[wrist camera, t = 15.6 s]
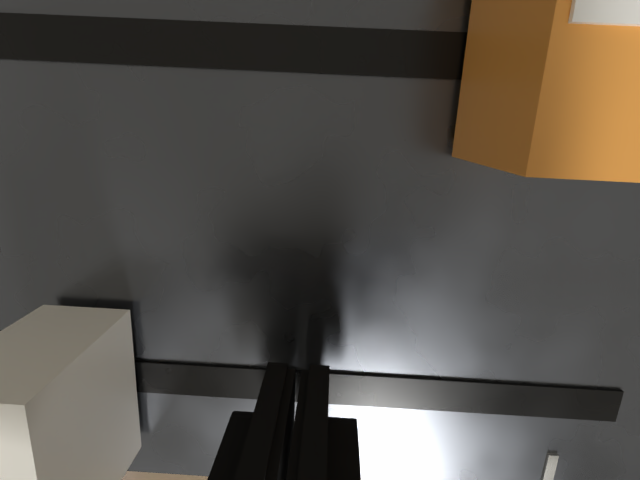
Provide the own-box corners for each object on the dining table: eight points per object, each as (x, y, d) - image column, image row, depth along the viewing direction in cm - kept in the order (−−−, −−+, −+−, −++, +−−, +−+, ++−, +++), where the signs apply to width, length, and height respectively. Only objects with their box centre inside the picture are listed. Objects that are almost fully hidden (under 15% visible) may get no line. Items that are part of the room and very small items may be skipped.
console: (825, -66, 10) (943, -111, 8) (657, 458, 15) (708, 511, 13) (-110, -100, 11) (-211, -151, 9) (-9, 416, 15) (-62, 461, 13)
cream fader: (130, 309, 11) (20, 408, 7) (141, 446, 13) (52, 594, 9) (43, 305, 11) (-112, 400, 7) (62, 441, 13) (-61, 586, 9)
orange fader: (595, -58, 9) (812, -207, 5) (552, 161, 10) (697, 186, 6) (480, -62, 9) (599, -216, 5) (451, 156, 10) (528, 177, 6)
